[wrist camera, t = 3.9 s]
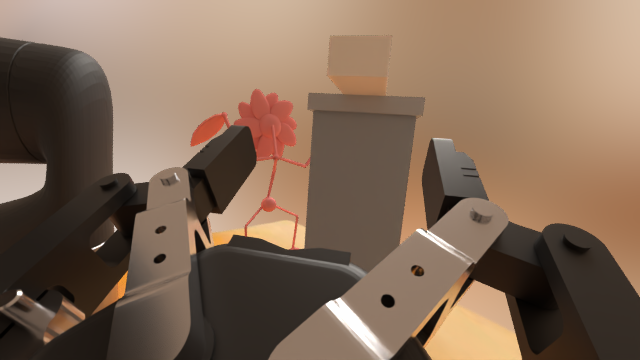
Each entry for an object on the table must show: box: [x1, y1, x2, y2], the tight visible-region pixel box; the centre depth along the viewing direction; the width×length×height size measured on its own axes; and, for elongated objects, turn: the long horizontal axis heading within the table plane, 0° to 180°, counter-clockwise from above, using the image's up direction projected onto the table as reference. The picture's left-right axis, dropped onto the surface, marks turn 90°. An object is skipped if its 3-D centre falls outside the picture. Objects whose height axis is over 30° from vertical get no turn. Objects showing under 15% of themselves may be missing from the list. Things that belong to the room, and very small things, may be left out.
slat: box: [327, 35, 392, 96], centre depth 28 cm, size 22×4×2 cm, turn 167°
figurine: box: [191, 89, 310, 250], centre depth 51 cm, size 15×26×35 cm, turn 125°
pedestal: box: [304, 93, 425, 272], centre depth 34 cm, size 13×11×32 cm
